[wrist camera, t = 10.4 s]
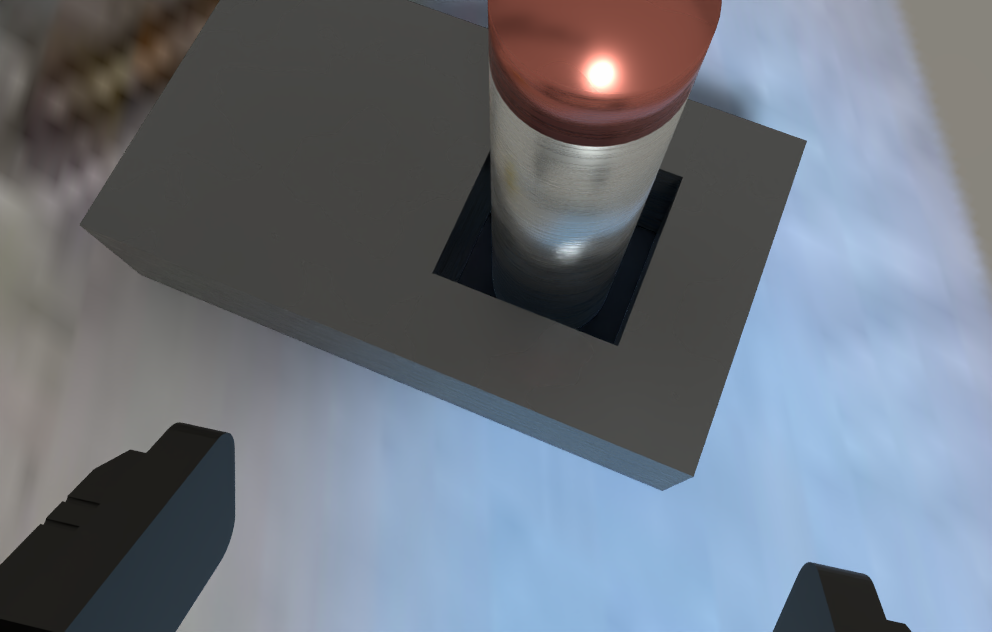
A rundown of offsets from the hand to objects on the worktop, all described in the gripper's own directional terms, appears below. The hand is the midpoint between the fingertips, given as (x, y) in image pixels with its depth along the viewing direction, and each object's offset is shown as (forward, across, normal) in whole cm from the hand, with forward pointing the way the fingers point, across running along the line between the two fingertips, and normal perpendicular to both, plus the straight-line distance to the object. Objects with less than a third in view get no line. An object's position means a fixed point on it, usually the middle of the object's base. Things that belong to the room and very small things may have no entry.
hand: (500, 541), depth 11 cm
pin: (+13, 0, +2) cm, 13 cm away
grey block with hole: (+13, +3, +1) cm, 14 cm away
